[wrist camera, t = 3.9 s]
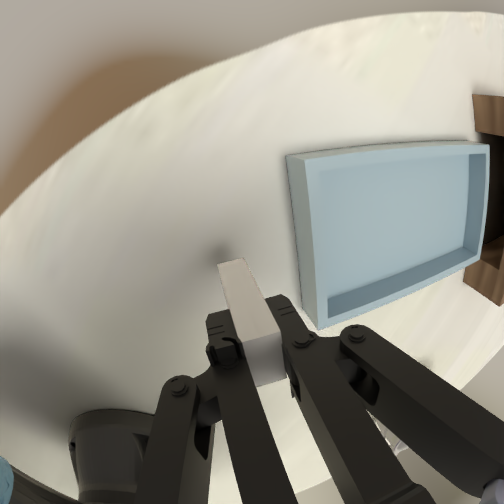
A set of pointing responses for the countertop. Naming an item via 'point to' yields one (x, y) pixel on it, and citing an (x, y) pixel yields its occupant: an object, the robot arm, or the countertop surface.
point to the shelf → (500, 250)
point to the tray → (384, 221)
